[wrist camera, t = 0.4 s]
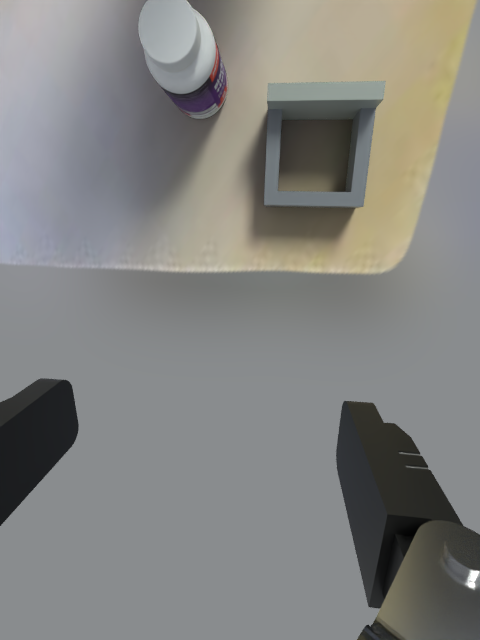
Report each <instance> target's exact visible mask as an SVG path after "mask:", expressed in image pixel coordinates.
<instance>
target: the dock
mask: <svg viewBox="0 0 480 640" xmlns="http://www.w3.org/2000/svg"><path fill="white" fill-rule="evenodd" d="M385 82H386V81H364V82H312V83H268V94H267V104H268V120H267V144H266V168H265V191H264V206H268V207H320V208H359V207H363V205H364V197H365V189H366V182H367V174H368V166H369V158H370V150H371V142H372V134H373V126H374V118H375V110H376V107H377V106H378V105H379V104H380V103H381V101H382V100H383V97H384V90H385ZM342 119H353V123H352V132H351V141H350V150H349V159H348V168H347V178H346V187H345V192H306V191H278V180H279V161H280V143H281V124H282V120H342Z"/></svg>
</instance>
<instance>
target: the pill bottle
mask: <svg viewBox="0 0 480 640" xmlns="http://www.w3.org/2000/svg"><path fill="white" fill-rule="evenodd" d="M138 32H139V38H140V41H141V44H142V46H143V48H144V54H145V60H146V63H147V66H148V68H149V70H150V72H151V74H152V76H153V77H154V79H155V80H156V82H157V83H158V84H159V85H160V86H161V88H162V89H163V90H164V91H165V92H166V93H167V95H168V96H169V97H170V98H171V99H172V101H173V102H174V103H175V104H176V105H177V107H178V108H179V109H180V110H181V111H182V112H183V113H185V114H186V115H188V116H190V117H192V118H196V119H204V118H208V117H210V116H212V115H214V114H215V113H216V112H217V111H218V110H219V109H220V108H221V107H222V105H223V103H224V101H225V99H226V96H227V91H228V80H227V75H226V71H225V68H224V65H223V62H222V59H221V56H220V53H219V50H218V47H217V44H216V41H215V38H214V35H213V33H212V31H211V29H210V26H209V24H208V23H207V21H206V20H205V18H204V17H203V16H202V15H201V14H200V13H199V12H198V11H196V10H195V9H193V8H192V7H191V5H190V4H189V2H188V1H187V0H147V2H146V3H145V4H144V6H143V8H142V10H141V13H140V17H139V22H138Z"/></svg>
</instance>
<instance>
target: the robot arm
mask: <svg viewBox="0 0 480 640" xmlns="http://www.w3.org/2000/svg"><path fill="white" fill-rule="evenodd" d="M77 434H78V419H77V413H76V407H75V401H74V395H73V389H72V385H71V384H70V382H69V381H67V380H56V379H39V380H37V381H35V382H34V383H32V384H31V385H30V386H28V387H26V388H25V389H24V390H22V391H21V392H19V393H18V394H16V395H15V396H13V397H12V398H9V399H7V400H5V401H2V402H0V526H1V524H2V523H3V522H4V521H5V520H6V519H7V518H8V517H9V516H10V514H11V513H12V512H13V511H14V510H15V509H16V508H17V507H18V506H19V505H20V503H21V502H22V501H23V500H24V499H25V498H26V497H27V496H28V494H29V493H30V492H31V491H32V490H33V489H34V488H35V487H36V486H37V484H38V483H39V482H40V481H41V480H42V479H43V478H44V477H45V475H46V474H47V473H48V472H49V471H50V470H51V469H52V468H53V467H54V465H55V464H56V463H57V462H58V461H59V460H60V459H61V458H62V456H63V455H64V454H65V453H66V452H67V451H68V450H69V449H70V448H71V446H72V445H73V444H74V442H75V440H76V437H77ZM336 457H337V459H336V460H337V470H338V475H339V479H340V484H341V488H342V493H343V497H344V502H345V506H346V510H347V514H348V519H349V523H350V528H351V532H352V536H353V541H354V545H355V550H356V554H357V558H358V562H359V566H360V571H361V575H362V579H363V584H364V589H365V593H366V597H367V602H368V606H369V607H373V608H380V610H379V613H378V615H377V617H376V619H375V621H374V622H373V624H372V625H371V627H370V626H369V625H366V626H365V628H364V629H363V630H362V632H361V634H360V635H359V637H358V639H357V640H480V534H478V533H476V532H475V531H473V530H471V529H469V528H467V527H465V526H463V524H462V523H461V521H460V519H459V518H458V516H457V514H456V513H455V511H454V509H453V507H452V506H451V504H450V503H449V501H448V499H447V497H446V496H445V494H444V492H443V491H442V489H441V487H440V486H439V484H438V482H437V481H436V479H435V477H434V475H433V474H432V472H431V471H430V470H428V465H427V464H426V462H425V460H424V459H423V457H422V456H420V452H419V450H418V449H417V447H416V445H415V443H414V442H413V440H412V438H411V437H410V436H409V435H407V434H406V433H405V432H404V431H403V430H402V429H400V428H399V427H398V426H397V425H396V424H394V423H383V420H382V418H381V416H380V415H379V413H378V411H377V409H376V407H375V405H374V404H373V403H367V402H352V401H344V403H343V405H342V411H341V419H340V426H339V434H338V443H337V453H336Z"/></svg>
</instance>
